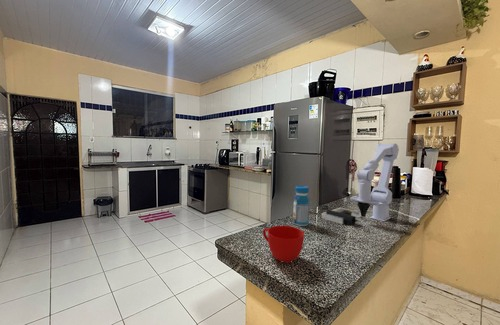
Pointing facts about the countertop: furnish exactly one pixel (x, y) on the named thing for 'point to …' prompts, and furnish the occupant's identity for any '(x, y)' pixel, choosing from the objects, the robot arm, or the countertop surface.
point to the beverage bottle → (301, 206)
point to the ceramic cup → (284, 242)
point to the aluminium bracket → (339, 219)
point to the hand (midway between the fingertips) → (363, 216)
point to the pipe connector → (344, 216)
